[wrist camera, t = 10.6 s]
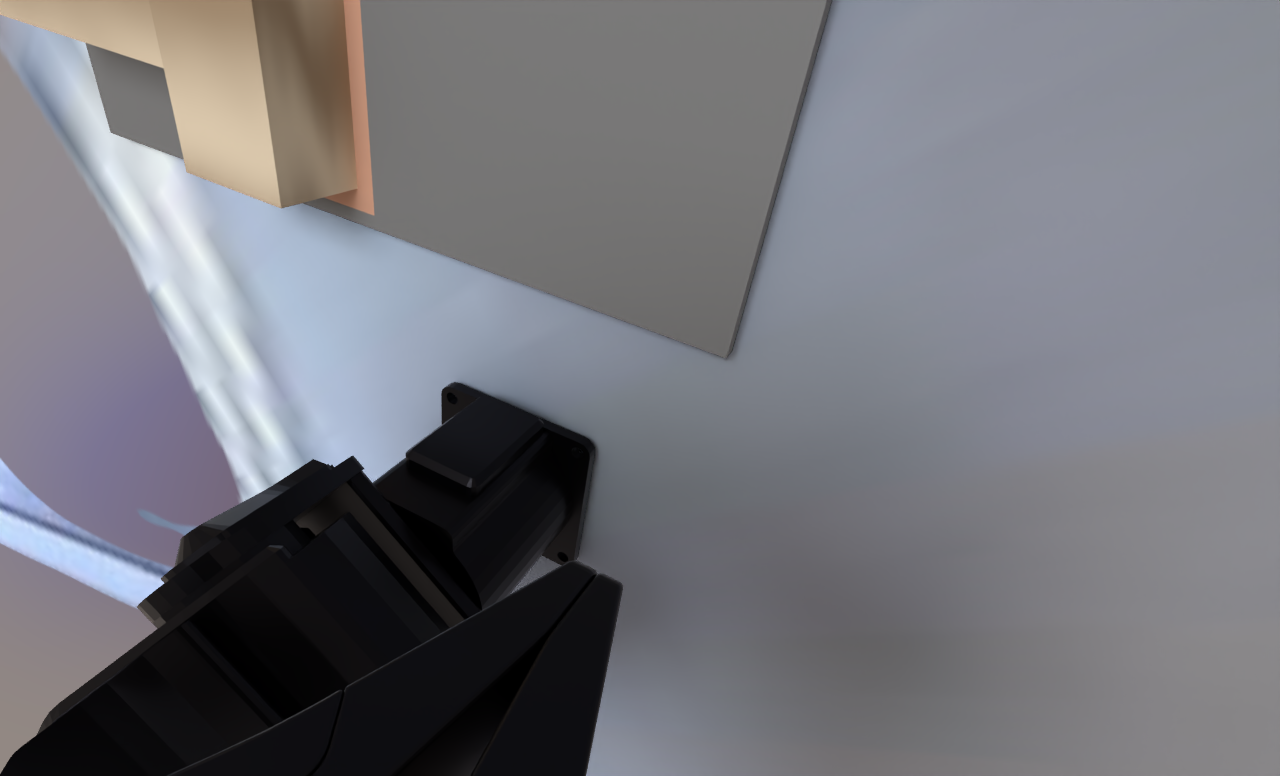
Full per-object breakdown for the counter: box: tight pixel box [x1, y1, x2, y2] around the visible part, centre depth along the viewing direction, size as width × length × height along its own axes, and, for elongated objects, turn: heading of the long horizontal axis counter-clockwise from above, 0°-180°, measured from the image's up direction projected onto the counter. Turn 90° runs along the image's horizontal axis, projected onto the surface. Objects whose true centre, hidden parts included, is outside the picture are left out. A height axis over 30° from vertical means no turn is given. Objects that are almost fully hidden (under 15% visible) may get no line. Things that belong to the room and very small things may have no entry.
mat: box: [86, 0, 832, 358], centre depth 19 cm, size 12×26×1 cm, turn 80°
